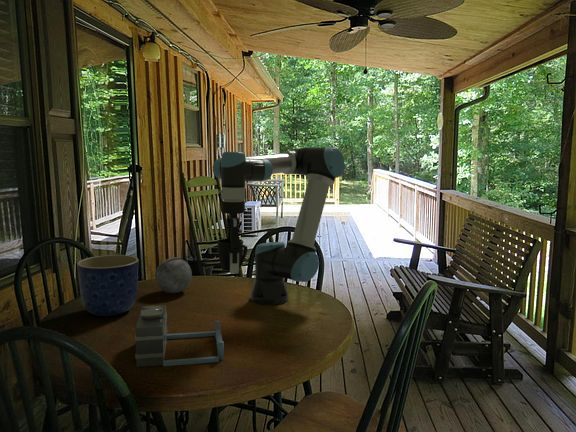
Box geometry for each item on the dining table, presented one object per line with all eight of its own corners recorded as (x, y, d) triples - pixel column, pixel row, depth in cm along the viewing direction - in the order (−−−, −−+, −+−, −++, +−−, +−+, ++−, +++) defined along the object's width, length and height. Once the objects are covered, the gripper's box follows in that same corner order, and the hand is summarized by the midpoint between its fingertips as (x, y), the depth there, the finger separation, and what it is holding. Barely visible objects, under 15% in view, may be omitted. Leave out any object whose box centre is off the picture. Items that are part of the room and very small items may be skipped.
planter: (78, 325, 150) (75, 270, 147) (79, 306, 168) (77, 257, 166) (142, 317, 158) (141, 264, 155) (137, 300, 176) (136, 253, 174)
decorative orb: (181, 285, 197) (180, 252, 195) (198, 293, 187) (198, 258, 185) (149, 292, 187) (148, 257, 185) (166, 300, 177) (165, 263, 175)
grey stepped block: (167, 338, 140) (166, 298, 138) (164, 365, 122) (163, 319, 120) (142, 340, 138) (141, 299, 136) (135, 367, 120) (134, 321, 119)
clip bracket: (220, 334, 144) (219, 319, 143) (224, 361, 125) (224, 344, 124) (167, 337, 140) (166, 322, 140) (163, 366, 121) (162, 348, 121)
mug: (234, 275, 137) (234, 245, 136) (212, 268, 146) (212, 240, 144) (255, 271, 143) (255, 242, 141) (233, 264, 151) (232, 237, 150)
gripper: (219, 197, 152) (219, 261, 155) (223, 204, 130) (223, 278, 133) (241, 197, 153) (240, 260, 156) (249, 204, 132) (248, 277, 134)
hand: (232, 268), depth 145 cm, fingers closed on mug, 10 cm apart
